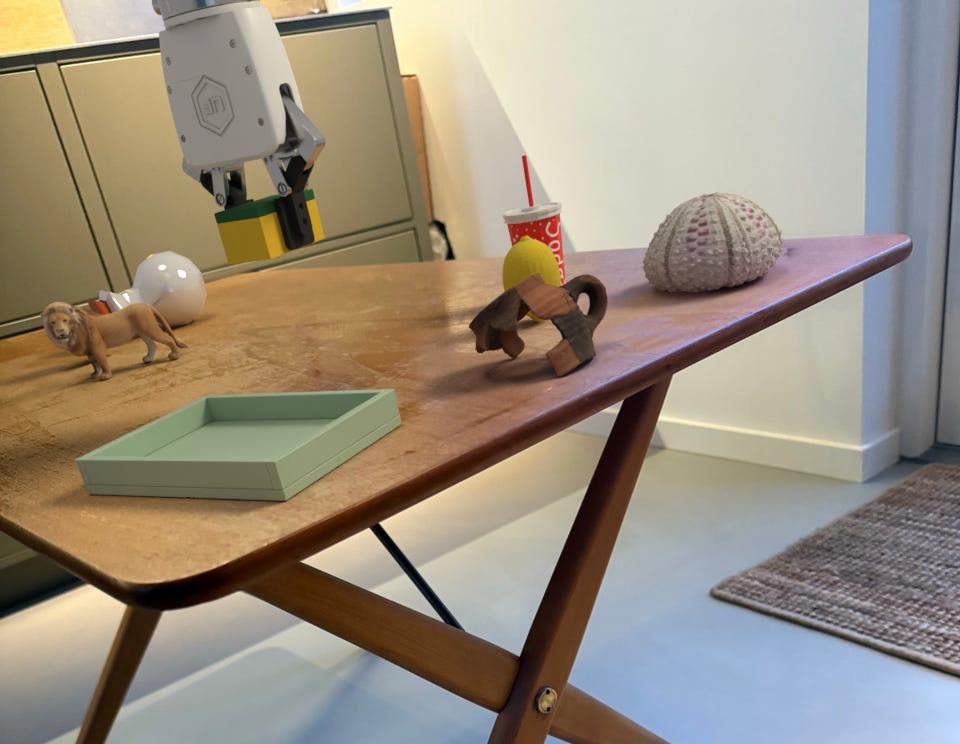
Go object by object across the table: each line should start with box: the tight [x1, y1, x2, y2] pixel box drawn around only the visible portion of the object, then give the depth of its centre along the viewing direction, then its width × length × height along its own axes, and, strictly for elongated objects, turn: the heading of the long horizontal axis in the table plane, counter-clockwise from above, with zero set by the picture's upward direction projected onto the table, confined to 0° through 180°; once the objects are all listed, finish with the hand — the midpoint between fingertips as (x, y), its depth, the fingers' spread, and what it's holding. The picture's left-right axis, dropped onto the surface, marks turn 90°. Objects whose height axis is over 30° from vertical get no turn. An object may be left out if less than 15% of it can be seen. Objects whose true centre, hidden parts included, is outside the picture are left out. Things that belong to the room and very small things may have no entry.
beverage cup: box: [502, 154, 567, 286], centre depth 107 cm, size 6×6×14 cm
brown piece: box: [468, 273, 609, 378], centre depth 86 cm, size 12×10×8 cm
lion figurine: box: [40, 301, 189, 381], centre depth 116 cm, size 15×5×9 cm, turn 126°
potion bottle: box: [86, 250, 209, 329], centre depth 136 cm, size 9×10×15 cm
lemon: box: [502, 236, 561, 323], centre depth 99 cm, size 6×6×8 cm
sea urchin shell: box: [642, 191, 785, 293], centre depth 100 cm, size 13×14×8 cm
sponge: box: [213, 188, 326, 265], centre depth 85 cm, size 5×8×4 cm, turn 151°
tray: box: [74, 388, 403, 502], centre depth 78 cm, size 20×15×3 cm
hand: (276, 247), depth 86 cm, fingers closed on sponge, 4 cm apart
